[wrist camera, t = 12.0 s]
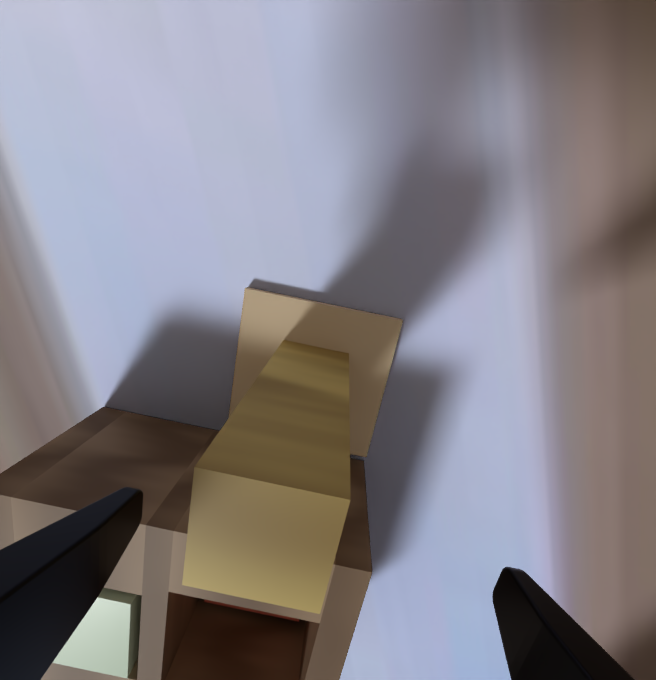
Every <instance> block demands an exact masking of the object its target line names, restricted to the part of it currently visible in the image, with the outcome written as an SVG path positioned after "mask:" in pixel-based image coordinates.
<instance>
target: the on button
mask: <svg viewBox="0 0 656 680" xmlns="http://www.w3.org/2000/svg"><path fill="white" fill-rule="evenodd" d="M141 601H142V595H137V594H132V593H127V592H123V591H118V590H113V589H108V588H103V589H102V591H101V593H100V594H99V596H98V597H97V599H96V600H95V602H94V603H93V605H92V606H91V608H90V609H89V611H88V612H87V614H86V615H85V617H84V618H83V619H82V621H81V622H80V624H79V625H78V627H77V628H76V629H75V631H74V632H73V634H72V635H71V637H70V638H69V640H68V641H67V642H66V644H65V645H64V647H63V648H62V650H61V651H60V652H59V654H58V655H57V657H56V658H55V660H54V661H53V663H56V664H61V665H65V666H70V667H75V668H80V669H84V670H89V671H94V672H99V673H103V674H108V675H113V676H118V677H122V678H128V676H129V674H130V672H131V671H132V669H133V667H134V665H135V663H136V661H137V659H138V655H139V637H140V619H141Z"/></svg>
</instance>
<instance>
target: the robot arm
mask: <svg viewBox="0 0 656 680" xmlns="http://www.w3.org/2000/svg"><path fill="white" fill-rule="evenodd" d="M142 510H143V491H142V490H140V489H136V488H131V487H124V488H121V489H119V490H117V491H115V492H113V493H111V494H109V495H108V496H106V497H104V498H102V499H100V500H98V501H96V502H94V503H92V504H90V505H88V506H86V507H84V508H82V509H80V510H78V511H76V512H74V513H72V514H70V515H68V516H66V517H64V518H62V519H60V520H58V521H56V522H54V523H52V524H50V525H48V526H46V527H44V528H42V529H40V530H38V531H36V532H34V533H32V534H30V535H28V536H26V537H24V538H22V539H20V540H19V541H17V542H15V543H13V544H11V545H9V546H7V547H5V548H3V549H1V550H0V680H41V678H42V677H43V675H44V674H45V673H46V671H47V670H48V668H49V667H50V665H51V664H52V663H53V661H54V660H55V658H56V657H57V655H58V654H59V652H60V651H61V650H62V648H63V647H64V645H65V644H66V642H67V641H68V640H69V638H70V637H71V635H72V634H73V632H74V631H75V629H76V628H77V627H78V625H79V624H80V622H81V621H82V619H83V618H84V617H85V615H86V614H87V612H88V611H89V609H90V608H91V606H92V605H93V603H94V602H95V600H96V599H97V597H98V596H99V594H100V593H101V591H102V589H103V588H104V586H105V584H106V583H107V581H108V579H109V577H110V576H111V574H112V572H113V570H114V569H115V567H116V565H117V564H118V562H119V560H120V558H121V557H122V555H123V553H124V551H125V550H126V548H127V546H128V544H129V543H130V541H131V539H132V537H133V536H134V534H135V532H136V531H137V529H138V527H139V525H140V522H141V519H142ZM493 604H494V608H495V613H496V617H497V621H498V625H499V630H500V634H501V638H502V643H503V647H504V651H505V655H506V660H507V664H508V668H509V672H510V676H511V680H634V679H633V678H632V677H631V676H630V675H629V674H628V673H627V672H626V671H625V670H624V669H623V668H622V667H621V666H620V665H619V664H618V663H617V662H616V661H615V660H614V659H613V658H612V657H611V656H610V655H609V654H608V653H607V652H606V651H605V650H604V649H603V648H602V647H601V646H600V645H599V644H598V643H597V642H596V641H595V640H594V639H593V638H592V637H591V636H590V635H589V634H588V633H587V632H586V631H585V630H584V629H583V628H581V627H580V626H579V625H578V624H577V623H576V622H575V621H574V620H573V619H572V618H571V617H570V616H569V615H568V614H567V613H566V612H565V611H564V610H563V609H562V608H561V607H560V606H559V605H558V604H557V603H556V602H555V601H554V600H553V599H552V598H551V597H550V596H549V595H548V594H547V593H546V592H545V591H544V590H543V589H542V588H541V587H540V586H539V585H538V584H537V583H536V582H535V581H534V580H533V579H532V578H531V577H530V576H529V575H528V574H527V573H525V572H524V571H523V570H520V569H516V568H511V567H505V568H504V569H503V570H502V572H501V574H500V576H499V579H498V581H497V583H496V585H495V588H494V590H493Z"/></svg>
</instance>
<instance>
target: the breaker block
mask: <svg viewBox="0 0 656 680" xmlns="http://www.w3.org/2000/svg"><path fill="white" fill-rule="evenodd" d="M218 433H219V431H218V430H213V429H208V428H203V427H198V426H194V425H189V424H184V423H179V422H174V421H170V420H165V419H160V418H155V417H150V416H145V415H141V414H136V413H131V412H126V411H121V410H117V409H112V408H107V407H102V408H101V409H99V410H98V411H96V412H95V413H93V414H92V415H90V416H89V417H87V418H85V419H84V420H82V421H81V422H79V423H78V424H76V425H75V426H73V427H72V428H70V429H69V430H67V431H65V432H64V433H62V434H61V435H59V436H58V437H56V438H55V439H53V440H52V441H50V442H48V443H47V444H45V445H44V446H42V447H41V448H39V449H38V450H36V451H35V452H33V453H32V454H30V455H28V456H27V457H25V458H24V459H22V460H21V461H19V462H18V463H16V464H15V465H13V466H11V467H10V468H8V469H7V470H5V471H4V472H2V473H1V474H0V550H1V549H3V548H5V547H7V546H9V545H11V544H13V543H15V542H17V541H19V540H20V539H22V538H24V537H26V536H28V535H30V534H32V533H34V532H36V531H38V530H40V529H42V528H44V527H46V526H48V525H50V524H52V523H54V522H56V521H58V520H60V519H62V518H64V517H66V516H68V515H70V514H72V513H74V512H76V511H78V510H80V509H82V508H84V507H86V506H88V505H90V504H92V503H94V502H96V501H98V500H100V499H102V498H104V497H106V496H108V495H109V494H111V493H113V492H115V491H117V490H119V489H121V488H124V487H131V488H136V489H140V490H142V491H143V510H142V519H141V522H140V525H139V527H138V529H137V531H136V532H135V534H134V536H133V537H132V539H131V541H130V543H129V544H128V546H127V548H126V550H125V551H124V553H123V555H122V557H121V558H120V560H119V562H118V564H117V565H116V567H115V569H114V570H113V572H112V574H111V576H110V577H109V579H108V581H107V583H106V584H105V586H104V588H108V589H113V590H118V591H123V592H127V593H132V594H137V595H142V601H141V619H140V637H139V655H138V659H137V661H136V663H135V665H134V667H133V669H132V671H131V672H130V674H129V676H128V678H122V677H118V676H113V675H108V674H103V673H99V672H94V671H89V670H84V669H80V668H75V667H70V666H65V665H61V664H56V663H52V664H51V665H50V667H49V668H48V670H47V671H46V673H45V674H44V675H43V677H42V678H41V680H339V679H340V675H341V672H342V669H343V666H344V662H345V659H346V656H347V653H348V649H349V646H350V643H351V640H352V636H353V633H354V630H355V627H356V623H357V620H358V617H359V614H360V610H361V607H362V604H363V601H364V597H365V594H366V591H367V588H368V584H369V581H370V578H371V575H372V563H371V550H370V537H369V524H368V510H367V497H366V484H365V470H364V461H362V460H357V459H352V458H350V504H349V507H348V511H347V515H346V519H345V522H344V526H343V530H342V534H341V537H340V541H339V545H338V549H337V552H336V556H335V560H334V564H333V567H332V571H331V575H330V579H329V582H328V586H327V590H326V594H325V597H324V601H323V605H322V609H321V612H320V614H317V613H312V612H307V611H303V610H298V609H293V608H288V607H284V606H279V605H274V604H269V603H265V602H260V601H255V600H251V599H246V598H241V597H236V596H232V595H227V594H222V593H217V592H213V591H208V590H203V589H199V588H194V587H189V586H184V585H182V580H183V571H184V561H185V552H186V542H187V533H188V523H189V513H190V504H191V494H192V485H193V475H194V467H195V465H196V464H197V463H198V461H199V460H200V458H201V457H202V455H203V454H204V453H205V451H206V450H207V448H208V447H209V445H210V444H211V443H212V441H213V440H214V438H215V437H216V435H217V434H218ZM204 599H206V600H210V601H215V602H220V603H225V604H230V605H234V606H239V607H244V608H249V609H253V610H258V611H263V612H268V613H273V614H277V615H282V616H287V617H292V618H296V619H299V622H298V621H293V620H288V619H283V618H278V617H274V616H269V615H264V614H259V613H255V612H250V611H245V610H240V609H235V608H231V607H226V606H221V605H216V604H212V603H207V602H204Z"/></svg>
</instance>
